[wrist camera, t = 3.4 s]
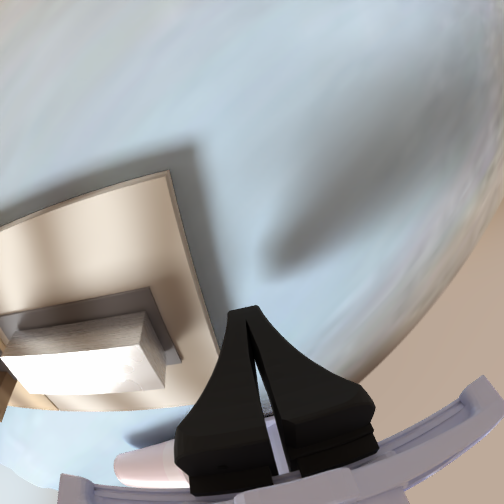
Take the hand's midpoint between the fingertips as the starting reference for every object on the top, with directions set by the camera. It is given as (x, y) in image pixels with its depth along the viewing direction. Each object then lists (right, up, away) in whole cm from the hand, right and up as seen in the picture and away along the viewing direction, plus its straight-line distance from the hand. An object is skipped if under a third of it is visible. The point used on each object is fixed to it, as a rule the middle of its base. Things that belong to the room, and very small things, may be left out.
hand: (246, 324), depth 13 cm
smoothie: (-12, -18, +6) cm, 22 cm away
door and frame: (-13, -2, +1) cm, 13 cm away
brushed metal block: (-9, -2, 0) cm, 9 cm away
